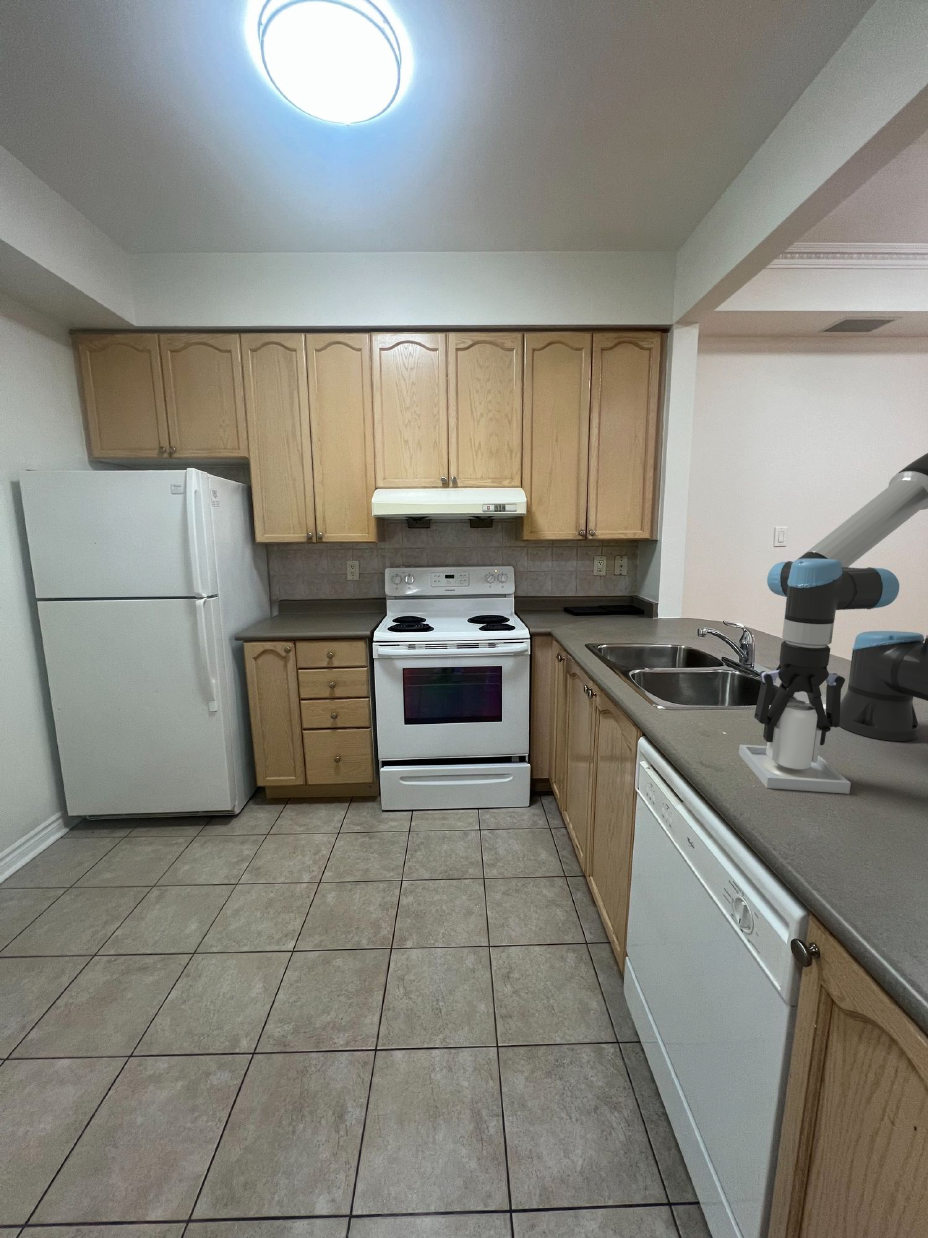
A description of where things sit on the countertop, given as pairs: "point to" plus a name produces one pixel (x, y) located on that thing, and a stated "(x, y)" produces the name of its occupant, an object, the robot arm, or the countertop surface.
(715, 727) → the countertop surface
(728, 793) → the countertop surface
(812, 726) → the can
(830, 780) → the flange tray
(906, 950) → the countertop surface
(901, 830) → the countertop surface
